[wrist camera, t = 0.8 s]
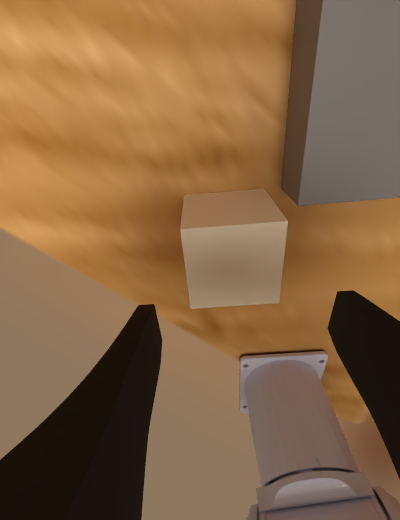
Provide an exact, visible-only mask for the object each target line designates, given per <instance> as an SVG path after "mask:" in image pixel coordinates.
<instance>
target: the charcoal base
mask: <svg viewBox="0 0 400 520" xmlns="http://www.w3.org/2000/svg"><path fill="white" fill-rule="evenodd" d="M281 188H282V189H283V190H284V191H285V192H286V193H287V195H288V196H289V197H290V198H291V199H292V200H293V201H294V202H295V203H296V204H297V205H298V206H304V205H316V204H328V203H340V202H352V201H363V200H375V199H387V198H399V197H400V0H297V2H296V14H295V26H294V39H293V51H292V63H291V75H290V87H289V99H288V111H287V124H286V136H285V148H284V160H283V172H282V184H281Z"/></svg>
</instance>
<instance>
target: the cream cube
mask: <svg viewBox="0 0 400 520" xmlns="http://www.w3.org/2000/svg"><path fill="white" fill-rule="evenodd" d="M287 226H288V220H287V219H286V218H285V216H284V215H283V213H282V212H281V211H280V209H279V208H278V206H277V205H276V204H275V202H274V201H273V200H272V198H271V197H270V195H269V194H268V193H267V191H266V190H265V188H264V189H252V190H239V191H227V192H214V193H202V194H189V195H184V200H183V209H182V218H181V227H180V232H181V240H182V247H183V255H184V263H185V270H186V278H187V286H188V294H189V301H190V309H197V308H212V307H227V306H241V305H256V304H271V303H279V299H280V290H281V281H282V272H283V262H284V253H285V244H286V235H287Z"/></svg>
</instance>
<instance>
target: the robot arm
mask: <svg viewBox="0 0 400 520" xmlns="http://www.w3.org/2000/svg"><path fill="white" fill-rule="evenodd" d="M328 331H329V333H330V336H331V339H332V341H333V344H334V346H335V348H336V351H337V353H338V355H339V357H340V359H341V361H342V362H343V364H344V366H345V368H346V370H347V372H348V373H349V375H350V377H351V379H352V381H353V382H354V384H355V386H356V388H357V389H358V391H359V393H360V395H361V397H362V398H363V400H364V402H365V404H366V406H367V407H368V409H369V411H370V413H371V415H372V417H373V419H374V421H375V423H376V425H377V427H378V430H379V432H380V434H381V436H382V439H383V441H384V443H385V445H386V448H387V450H388V452H389V454H390V457H391V459H392V462H393V464H394V467H395V469H396V471H397V474H398V476H399V478H400V321H398V320H397V319H395V318H394V317H393V316H391V315H390V314H388V313H387V312H385V311H384V310H382V309H381V308H379V307H378V306H376V305H375V304H373V303H372V302H370V301H369V300H367V299H366V298H364V297H363V296H361V295H360V294H358V293H357V292H355V291H339V292H337V295H336V299H335V303H334V306H333V310H332V314H331V318H330V322H329V326H328ZM161 349H162V337H161V332H160V328H159V323H158V319H157V315H156V310H155V306H154V304H150V305H139V306H138V307H137V308H136V310H135V311H134V313H133V314H132V316H131V317H130V319H129V320H128V322H127V323H126V325H125V326H124V328H123V329H122V331H121V332H120V334H119V335H118V337H117V338H116V339H115V341H114V342H113V343H112V345H111V346H110V347H109V349H108V350H107V352H106V353H105V354H104V355H103V357H102V358H101V359H100V361H99V362H98V363H97V364H96V365H95V367H94V368H93V369H92V370H91V372H90V373H89V374H88V375H87V376H86V377H85V379H84V380H83V381H82V382H81V383H80V384H79V385H78V386H77V388H76V389H75V390H74V391H73V392H72V393H71V394H70V395H69V396H68V397H67V399H65V400H64V402H62V403H61V404H60V405H59V407H57V408H56V410H54V411H53V413H51V414H50V415H49V416H48V417H47V418H46V419H45V420H44V421H43V422H42V423H41V424H40V425H39V426H38V427H37V428H36V429H35V430H34V431H32V432H31V433H30V434H29V435H28V436H27V437H26V438H25V439H23V440H22V441H21V442H20V443H19V444H18V445H17V446H16V447H14V448H13V449H12V450H11V451H10V452H9V453H8V454H7V455H5V456H4V457H3V458H2V459H1V460H0V520H141V516H142V501H143V487H144V476H145V463H146V453H147V442H148V433H149V426H150V419H151V414H152V408H153V403H154V397H155V392H156V386H157V381H158V375H159V369H160V363H161ZM327 359H328V355H327V353H326V352H324V351H316V352H300V353H284V354H268V355H251V356H243V357H241V358H240V413H242V414H249V417H250V422H251V429H252V435H253V441H254V447H255V453H256V459H257V465H258V471H259V477H260V483H261V488H257V489H256V493H257V499H258V504H254V505H252V506H251V507H250V510H249V514H248V516H247V518H246V520H400V503H399V502H398V500H397V499H396V498H395V497H393V496H392V495H391V494H389V493H388V492H386V490H385V489H384V488H382V487H380V486H376V487H371V484H370V482H369V480H368V478H367V475H366V473H365V472H360V470H359V468H358V466H357V463H356V461H355V459H354V456H353V454H352V452H351V450H350V447H349V445H348V443H347V440H346V438H345V436H344V433H343V431H342V429H341V427H340V425H339V422H338V420H337V417H336V415H335V413H334V410H333V408H332V406H331V404H330V401H329V399H328V397H327V394H326V392H325V390H324V387H323V385H322V383H321V380H322V376H323V373H324V369H325V366H326V362H327Z"/></svg>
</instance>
